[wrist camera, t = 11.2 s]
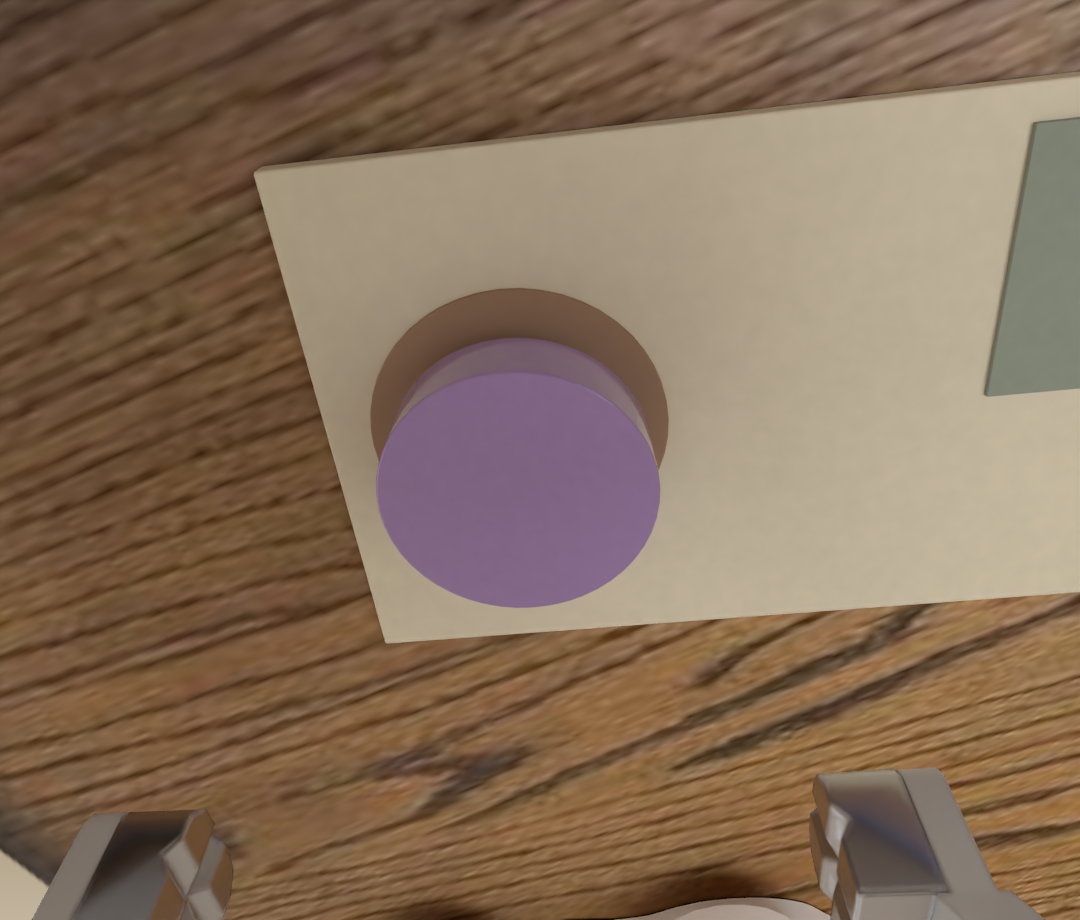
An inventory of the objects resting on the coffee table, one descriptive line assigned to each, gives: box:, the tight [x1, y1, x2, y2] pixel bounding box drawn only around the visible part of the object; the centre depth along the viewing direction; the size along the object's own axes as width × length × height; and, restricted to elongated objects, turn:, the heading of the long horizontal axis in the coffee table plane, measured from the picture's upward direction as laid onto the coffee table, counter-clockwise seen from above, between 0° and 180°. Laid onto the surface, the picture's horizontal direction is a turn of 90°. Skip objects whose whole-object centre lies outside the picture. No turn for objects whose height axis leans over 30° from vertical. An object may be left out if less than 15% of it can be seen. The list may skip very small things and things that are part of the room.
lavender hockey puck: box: [376, 338, 660, 608], centre depth 20 cm, size 6×6×3 cm
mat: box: [254, 71, 1080, 643], centre depth 21 cm, size 14×22×1 cm, turn 96°
